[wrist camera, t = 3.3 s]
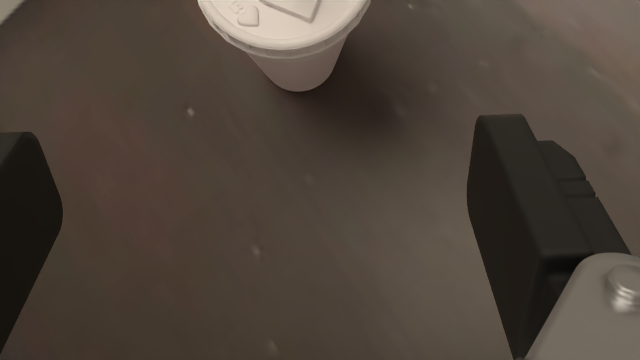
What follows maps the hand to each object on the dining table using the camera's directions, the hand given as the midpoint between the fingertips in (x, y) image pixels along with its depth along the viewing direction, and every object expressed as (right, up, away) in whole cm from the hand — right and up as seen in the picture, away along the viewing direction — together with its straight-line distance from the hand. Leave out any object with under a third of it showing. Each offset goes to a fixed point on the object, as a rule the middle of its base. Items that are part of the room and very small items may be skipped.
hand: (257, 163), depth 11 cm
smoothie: (0, +6, +19) cm, 20 cm away
